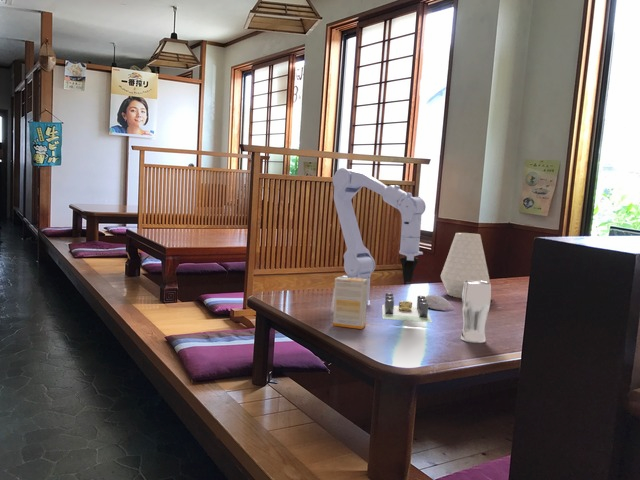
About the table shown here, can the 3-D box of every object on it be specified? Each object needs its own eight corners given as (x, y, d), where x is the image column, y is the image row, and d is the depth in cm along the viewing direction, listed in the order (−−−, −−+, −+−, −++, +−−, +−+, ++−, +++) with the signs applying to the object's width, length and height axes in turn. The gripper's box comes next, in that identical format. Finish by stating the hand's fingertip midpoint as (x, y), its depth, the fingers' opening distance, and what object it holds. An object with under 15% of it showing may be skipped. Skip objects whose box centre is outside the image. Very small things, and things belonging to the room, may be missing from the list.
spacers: (385, 314, 162) (386, 301, 162) (384, 305, 176) (385, 292, 176) (427, 317, 161) (428, 304, 161) (423, 307, 175) (424, 295, 175)
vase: (493, 296, 206) (498, 234, 204) (480, 302, 192) (485, 237, 190) (448, 289, 216) (452, 231, 214) (432, 295, 201) (436, 232, 199)
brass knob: (398, 311, 168) (399, 302, 168) (398, 308, 172) (398, 300, 172) (412, 312, 168) (412, 303, 168) (411, 309, 172) (411, 301, 172)
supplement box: (366, 325, 150) (368, 278, 149) (361, 329, 146) (364, 280, 144) (337, 322, 153) (339, 275, 152) (331, 325, 148) (334, 277, 147)
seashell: (421, 294, 183) (452, 291, 181) (422, 310, 183) (453, 308, 181) (420, 297, 173) (453, 295, 171) (422, 314, 173) (454, 312, 171)
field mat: (382, 320, 157) (382, 318, 157) (382, 306, 177) (382, 304, 177) (432, 324, 156) (432, 322, 156) (426, 309, 175) (426, 307, 175)
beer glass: (455, 336, 144) (459, 279, 143) (481, 336, 145) (485, 280, 143) (464, 343, 137) (469, 284, 136) (491, 344, 138) (496, 285, 136)
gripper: (425, 239, 159) (422, 286, 160) (421, 235, 173) (419, 278, 174) (401, 238, 159) (398, 284, 160) (399, 234, 174) (396, 277, 175)
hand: (407, 281), depth 167 cm, fingers closed
